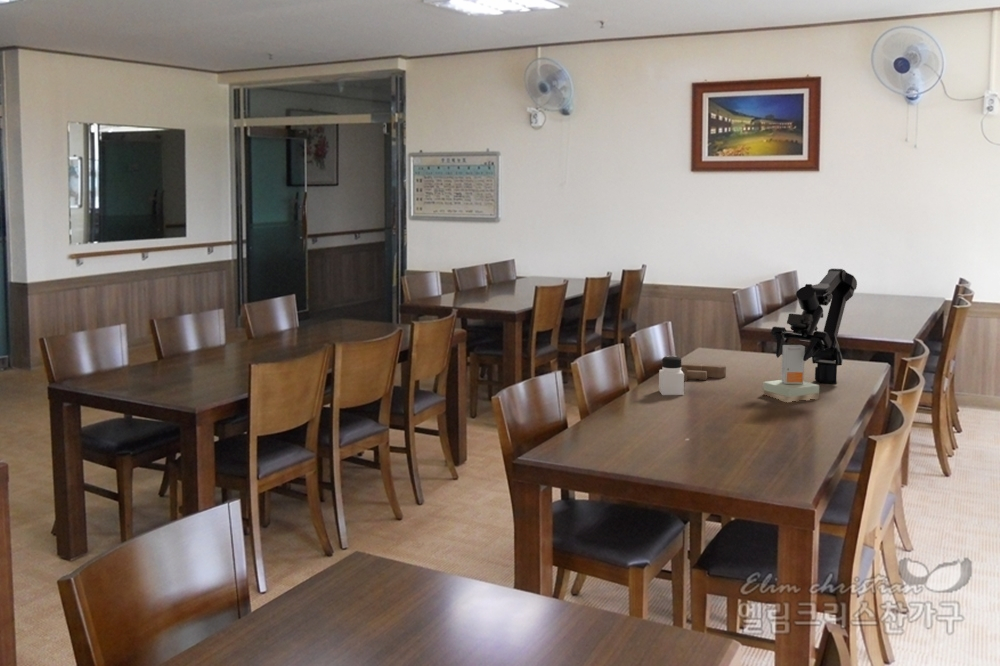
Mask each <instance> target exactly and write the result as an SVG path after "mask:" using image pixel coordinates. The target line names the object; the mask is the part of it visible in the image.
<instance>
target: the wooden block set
mask: <svg viewBox="0 0 1000 666" xmlns="http://www.w3.org/2000/svg"><path fill="white" fill-rule="evenodd" d="M681 371H682V372H683V373H684V374H685V376H684V381H686V382H688V379H699V380H698V381H707V379H708V378H707V377H714V378H713V379H722V378H721V377H725V378H726V376H727V365H725V364H709V363H707V364H706V363H705V364H704V363H695V362H693V363H692V362H681Z"/></svg>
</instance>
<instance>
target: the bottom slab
mask: <svg viewBox="0 0 1000 666" xmlns="http://www.w3.org/2000/svg"><path fill="white" fill-rule="evenodd" d="M766 395H767V396H766ZM763 396H766V397H769V396H770V397H769V398H772V397H773V398H772V399H775V398H776V399H775V400H778V399H779V400H778V401H781V402H784V403H786V402H787V403H793V402H792V401H796V402H800V401H799V400H806V401H811V400H810V399H815V400H820V392H819V393H816V394H809V395H801V396H793V397H787V396H783V395H780V394H776V393H773V392H769V391H766V390H763Z"/></svg>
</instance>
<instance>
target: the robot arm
mask: <svg viewBox="0 0 1000 666" xmlns="http://www.w3.org/2000/svg"><path fill="white" fill-rule="evenodd" d="M857 286H858V282H857V279H856V277H855V276H854V275H853V274H851V273H848V272H847V271H846V270H845V269H843V268H830V269H829V268H828V270H827V273H826V275H825V276H824V277H823V278H822V279H821V280H820V281H819V283H815V284H812V283H806V284H805V286H803V287H800V288H799V289H798V290H797V291H796V293H795V296H796V299H797V301H798V304H799V306H800V309H801V310H803V311H802V313H801V314H800V313H799V314H798V313H788V316H787V320H786V324H787V325H789V326H790V329H791V331H787V329H786V327H782V326H772V328H771V329H770V332H769V333H770V334H771V337H772V339H773V340H774V342H776V350H775V351H776V352H775V354H776V355H775V356H776V358H777V359H778V358H779V357H781V356H782V351H783V345H788V344H787V343H789V340H799V341H802V342H803V341H804V342H809V345H808V347H807V349H806V350H805V355H804V358H803V360H804V362H806V361H808V360H809V359H811V362H812V364H816V366H814V367H815V368H814V380H815V383H817V382H822V383H821V384H837V383H838V380H837V377H838V376H837V373H838V372H837V371H838V366H843V355H842V352H841V349H840V344H839V342H838V339H837V338H838V334H839V330H840V327H841V323H842V318H843V315H844V312H845V308H846V303H847V302H848V301H849V300H850V299H851V298H852V297H853V296H854V294H855V291H856V289H857ZM829 303H830V304H829ZM828 305H829V308H828V312H827V317H826V320H825V323H824V328H823V330H822V331H821V330H818V329H819V328H818V324H819V322H820V319H821V318H822V319H823V318H824V309H823V307H822V306H824V307H825V306H828Z"/></svg>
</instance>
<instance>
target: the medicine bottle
mask: <svg viewBox="0 0 1000 666" xmlns="http://www.w3.org/2000/svg"><path fill="white" fill-rule="evenodd" d="M681 363H682V358H681V357H680V356H677V355H667V356H666V355H665V356H664V357H662V369H659V370H658V371H659V372H658V391H659V392H660V393H661V395H662V396H684V395H685V382H684V376H685V374H684V373H683V372H682V371H681Z"/></svg>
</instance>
